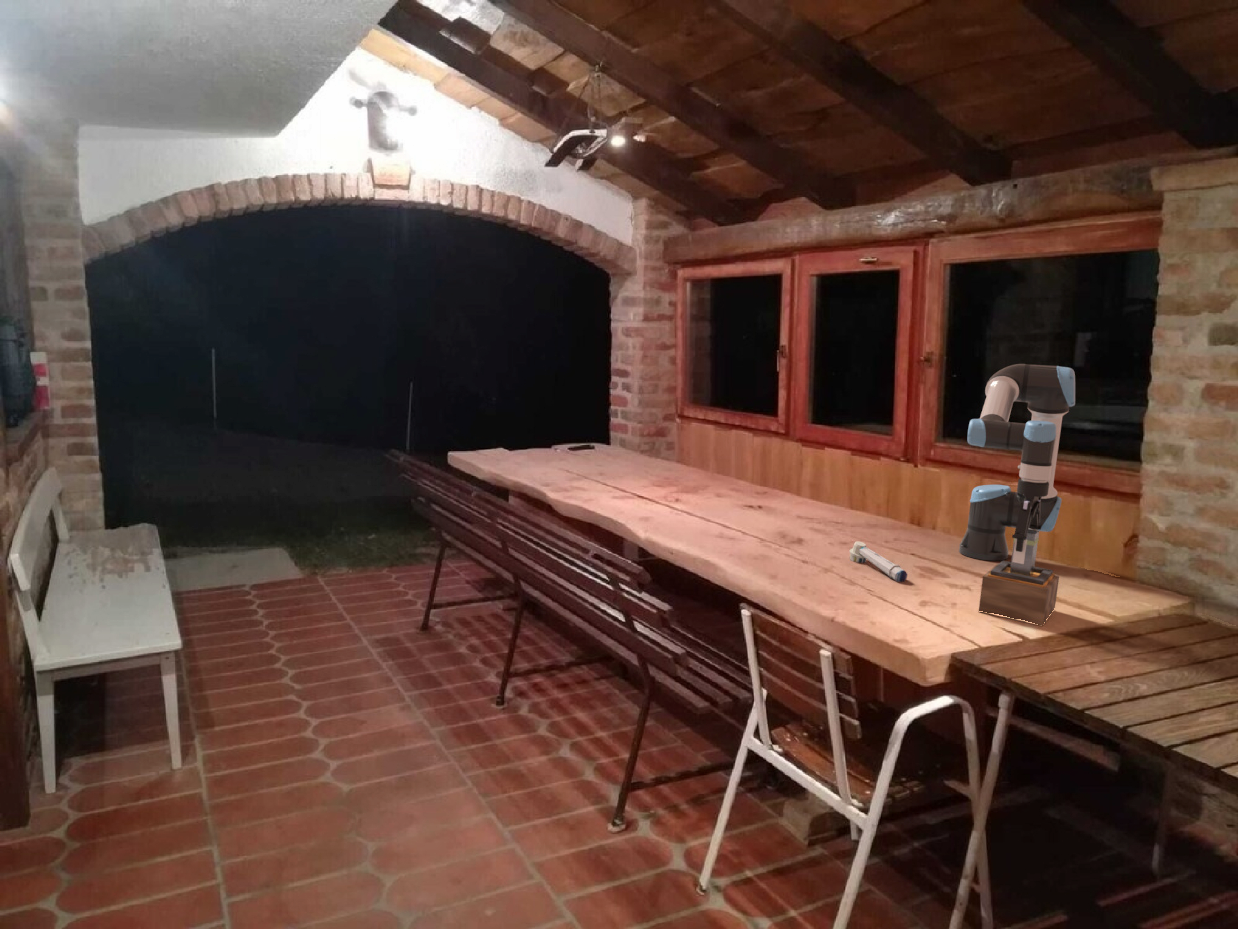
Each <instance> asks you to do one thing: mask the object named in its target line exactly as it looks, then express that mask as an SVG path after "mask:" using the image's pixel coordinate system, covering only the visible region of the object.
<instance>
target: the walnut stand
mask: <svg viewBox="0 0 1238 929" xmlns="http://www.w3.org/2000/svg"><path fill="white" fill-rule="evenodd" d="M1010 567H1011V561H1007V560H1000V562H999V563H996V564H995V565H994V566H993V567H992V568H990V569H989V571H987V572H986V573H985V574H983V575H982V580H981V590H980V596H979V605H978V612H979V611H983V612H987V613H994V614H999V615H1003V616H1007V617H1010V618H1014V619H1021V620H1025V621H1028V622H1032V623H1035V624H1038V625H1037V626H1039V625H1042V626H1041V627H1043V626H1044V625H1045V624H1044V622H1045V621H1046V619H1047V618H1048V617H1049V615H1050V614H1051V613H1052V611H1053V610H1054V608H1056V602H1057V595H1058V588H1059V587H1058V586H1059V580H1060V575H1059V574H1055V573H1053V572H1054V570H1053V569H1049V568H1044V567H1038V566H1035V567H1034V574H1033V575H1032V576H1031V577H1029V576H1024V575H1019V574H1014V573H1010ZM1052 614H1053V613H1052ZM1052 614H1051V615H1052ZM1049 618H1050V617H1049ZM1049 618H1048V619H1049ZM1046 622H1047V621H1046ZM1046 622H1045V623H1046ZM1043 624H1044V625H1043Z"/></svg>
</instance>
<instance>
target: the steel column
mask: <svg viewBox="0 0 1238 929" xmlns="http://www.w3.org/2000/svg"><path fill="white" fill-rule="evenodd" d="M1020 534H1021V533H1020ZM1039 535H1040V531H1037V530H1031V529H1028V533H1027V538H1026V539H1027V544H1026V551H1025V559H1024V564H1020V563H1015V562H1012V561H1013V553H1014V545H1015V538H1013V545H1012V551H1011V560H1010V562H1011V567H1010V573H1014V574H1019V575H1024V576H1029V577H1031V576H1032V575H1033V574H1034V567H1036V566H1035V564H1036V557H1037V549H1038V543H1039Z"/></svg>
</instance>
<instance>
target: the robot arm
mask: <svg viewBox="0 0 1238 929" xmlns="http://www.w3.org/2000/svg"><path fill="white" fill-rule="evenodd" d="M984 393H985V396H986V398H985V400H984V404H983V406H982V411H981V413H980V417H979V418H972V419H970V420H969V424H968V429H967V443H968V444H969V445H970V446H975V447H980V448H992V449H1001V450H1002V449H1003V450H1012V451H1021V459H1020V464H1018V466H1017V469H1018V470H1019V472H1018V473H1019V474H1018V476H1019V479H1018V480H1017V488H1016V491H1012V489H1011V487H1010V486H1009V485H1003V484H984V485H978V486H975V487H974V488H973V489H972V491H971V496H970V499H969V503H970V505H969V512H968V519H967V520H968V521H967V528H966V531H965V533H964V535H963V538H962V539H961V541H960V543H959V546H958V547H959V548H958V552H959V553H960V554H961V555H963V556H966V557H968V558H973V559H975V560H981V561H982V560H983V561H991V562H992V561H993V562H995V561H996V562H997V561H998V562H999V561H1000V562H1001V561H1006V560H1007V559H1008V558H1009V548H1008V543H1007V539H1006V538H1007V537H1006V529H1007V528H1006V527H1008V528H1015V530H1014V534H1012V537H1011V538H1012V539H1014V538H1015V545H1014V553H1013V561H1012V562H1015V563H1020V564H1024V559H1025V551H1026V544H1027V539H1026V538H1027V533H1028V529H1031V530H1037V531H1039V532H1044V533H1045V532H1046V533H1050V532H1052V531H1054V528H1055V526H1056V523H1057V520H1058V516H1059V513H1060V509H1061V505H1062V501H1063V500H1062V499H1063V498H1062V497H1060V496H1058V493H1059V492H1058V491H1057V489H1056V488H1055V487H1054V481H1055V475H1056V467H1057V459H1058V452H1059V447H1060V446H1059V444H1060V437H1061V430H1062V423H1063V422H1062V421H1063V417H1064V416H1065V415H1066V414H1067V413H1069V412H1070V411H1069V410H1070V408H1072V407H1074V406H1075V405H1076V375H1075V371H1074V369H1073V368H1071V367H1067V366H1059V365H1046V364H1045V365H1044V364H1043V365H1042V364H1026V363H1018V364H1017V363H1016V364H1012V365H1008V366H1006V367H1004V368H1002V369H1000V370H998V371H997V372H995V373H994V374H993V375H992V376H991V377H990V378H989V380H987V382H986V386H985V390H984ZM1014 402H1021V403H1027V409H1028V411H1029V412H1030V413H1031V420H1028V421H1027V422H1026V423H1024V422H1011V421H1009V419H1010V417H1011V416H1010V415H1011V411H1012V408H1013V404H1014ZM1020 533H1021V534H1020Z"/></svg>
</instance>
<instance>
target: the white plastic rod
mask: <svg viewBox="0 0 1238 929" xmlns="http://www.w3.org/2000/svg"><path fill="white" fill-rule="evenodd" d="M849 559H850V561H852V562H856V563H858V564H859V563H860V564H863V563H866V561H868V562H869V563H871V564H872V565H874V566H875V567H876V568H878V569H879V570H881V571H882V572H883V573H884V574H886V575H887V576H888V577H889V579H893V580H894V581H896V582H897V583H899V582H900V583H902V582H905V581H906V580H907V579H908V572H907V571H906V570H904V569H903V568H902V567H901V566H900V565H899V564H896V563H893V562H892V561H890V560H888V559H887V558H885V557H883V556H882V555H881V554H879V553H877V552H875V551H873V550H872V549H870V548H868V547H867V544H866V543H864V542H862V541H859V540H858V541H857V540H856V541H855V542H854V544H853V546H852V548H850V549H849Z"/></svg>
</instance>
